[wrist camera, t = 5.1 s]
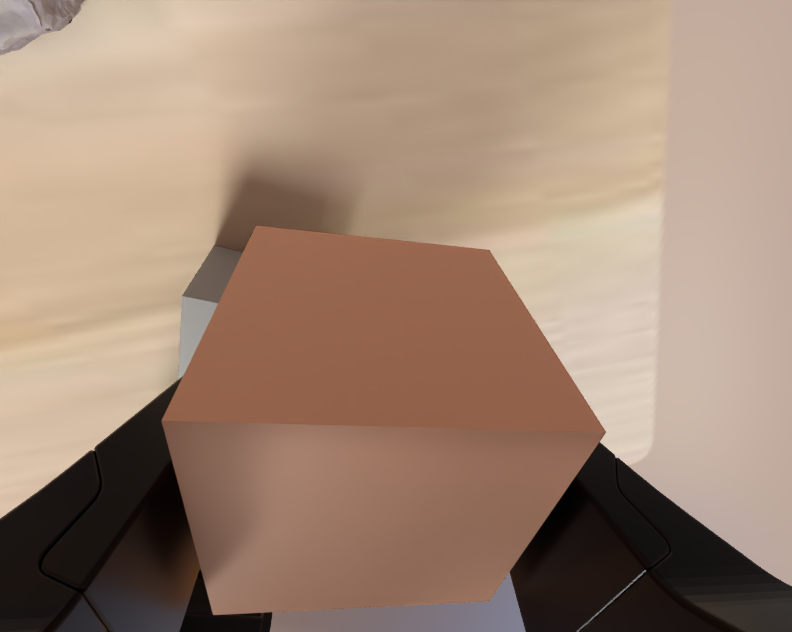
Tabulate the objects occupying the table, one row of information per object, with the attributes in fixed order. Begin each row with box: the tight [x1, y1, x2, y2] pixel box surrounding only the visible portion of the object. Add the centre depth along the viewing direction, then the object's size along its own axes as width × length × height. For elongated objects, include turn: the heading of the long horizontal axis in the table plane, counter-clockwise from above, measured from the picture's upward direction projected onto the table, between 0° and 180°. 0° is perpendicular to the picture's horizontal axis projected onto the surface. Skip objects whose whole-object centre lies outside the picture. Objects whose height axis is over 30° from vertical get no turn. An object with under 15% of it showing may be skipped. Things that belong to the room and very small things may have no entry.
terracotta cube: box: [162, 226, 606, 615], centre depth 8 cm, size 5×5×5 cm
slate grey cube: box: [178, 245, 243, 380], centre depth 21 cm, size 5×5×5 cm
